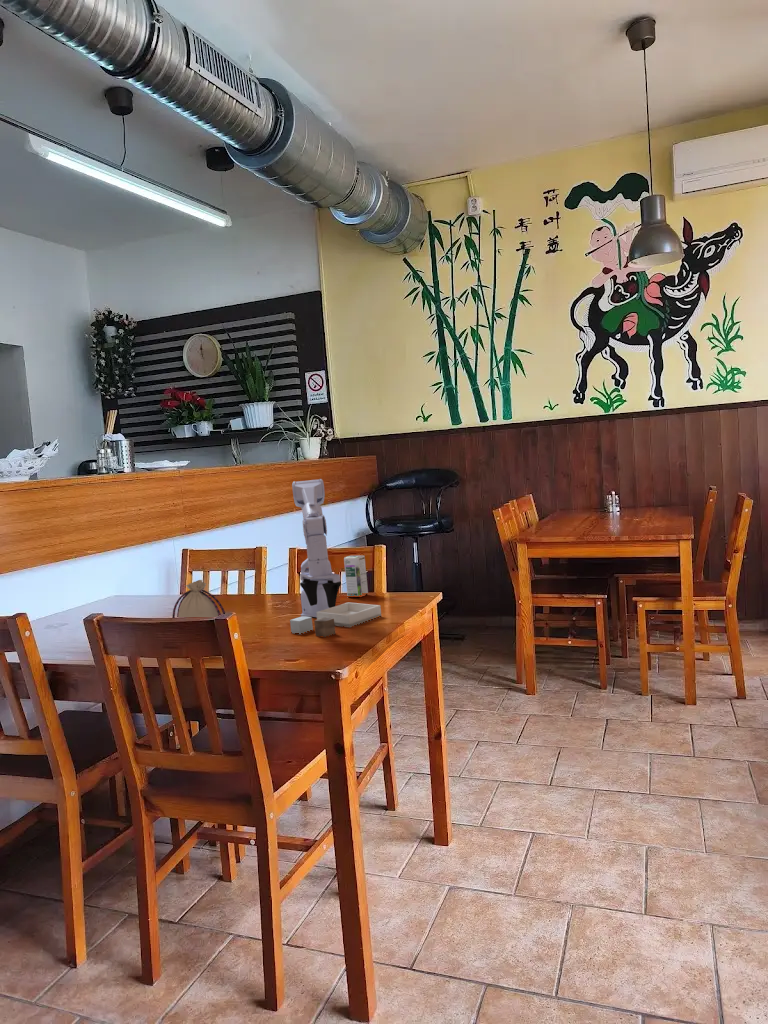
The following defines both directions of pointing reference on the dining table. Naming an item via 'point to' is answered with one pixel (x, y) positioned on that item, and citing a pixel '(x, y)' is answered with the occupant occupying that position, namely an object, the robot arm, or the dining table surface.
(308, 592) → the robot arm
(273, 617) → the dining table surface
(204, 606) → the pouch
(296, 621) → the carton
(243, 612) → the dining table surface
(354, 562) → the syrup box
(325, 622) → the walnut block
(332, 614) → the tote
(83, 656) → the dining table surface
